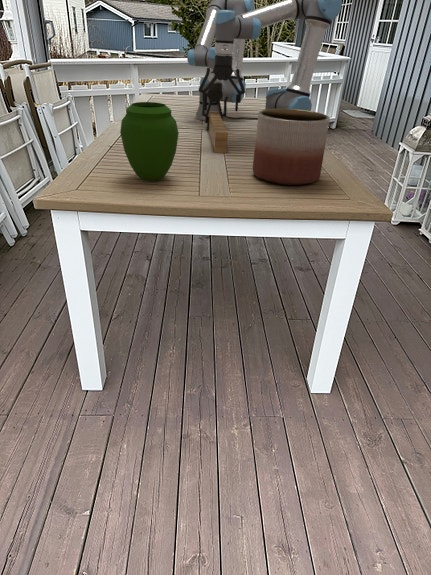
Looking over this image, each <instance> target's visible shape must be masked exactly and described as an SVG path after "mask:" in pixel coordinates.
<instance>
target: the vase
mask: <svg viewBox="0 0 431 575" xmlns="http://www.w3.org/2000/svg"><path fill="white" fill-rule="evenodd" d="M125 113H126V114H125V115H124V117H122V119H121V122H120V123H121V124H120V130H119V133H120V138H121V142H122V147H123V150H124V154H125V155H126V158H127V160H128V163H129V165H130V167H131V168H132V170H133V172H134V173H135V175H136V176H137V177H138V178H139V179H141V180H143V181H145V182H159V181H161V180H163V179H164V178H165V176H166V175H167V174H168V173H169V170H170V169H171V167H172V165H173V162H174V159H175V157H176V156H175V155H176V153H177V147H178V140H179V129H178V122H177V120H176V119H175V117H174V116H173V115H172V109H171V108H170V107H169V106H167V105H166V104H164V103H162V102H155V101H138V102H132V103H131V104H130V105H128V107H127V108H125Z"/></svg>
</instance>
